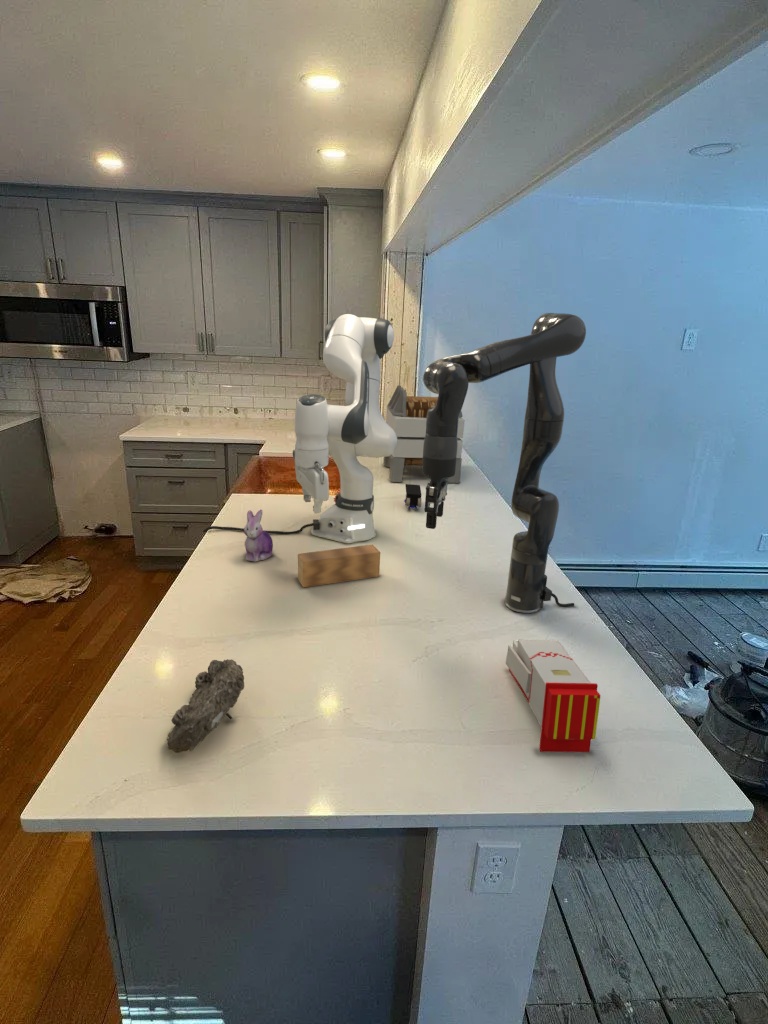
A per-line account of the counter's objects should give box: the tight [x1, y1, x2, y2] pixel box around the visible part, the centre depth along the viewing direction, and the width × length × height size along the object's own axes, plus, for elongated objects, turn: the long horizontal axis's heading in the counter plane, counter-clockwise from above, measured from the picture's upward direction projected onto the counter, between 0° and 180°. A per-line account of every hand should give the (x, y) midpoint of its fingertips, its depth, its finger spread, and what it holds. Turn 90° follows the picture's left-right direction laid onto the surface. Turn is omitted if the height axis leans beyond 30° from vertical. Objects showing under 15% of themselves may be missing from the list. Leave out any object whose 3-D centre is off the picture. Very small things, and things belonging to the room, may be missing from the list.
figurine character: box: [403, 483, 422, 512], centre depth 227 cm, size 7×8×15 cm
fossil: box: [166, 658, 245, 754], centre depth 106 cm, size 22×10×15 cm
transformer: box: [383, 384, 465, 484], centre depth 268 cm, size 34×33×41 cm
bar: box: [297, 544, 381, 588], centre depth 165 cm, size 23×6×8 cm, turn 113°
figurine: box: [243, 508, 274, 562], centre depth 175 cm, size 9×10×15 cm
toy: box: [505, 638, 602, 753], centre depth 114 cm, size 12×13×30 cm
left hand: (311, 506), depth 155 cm, fingers open, 8 cm apart
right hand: (434, 521), depth 132 cm, fingers open, 8 cm apart
